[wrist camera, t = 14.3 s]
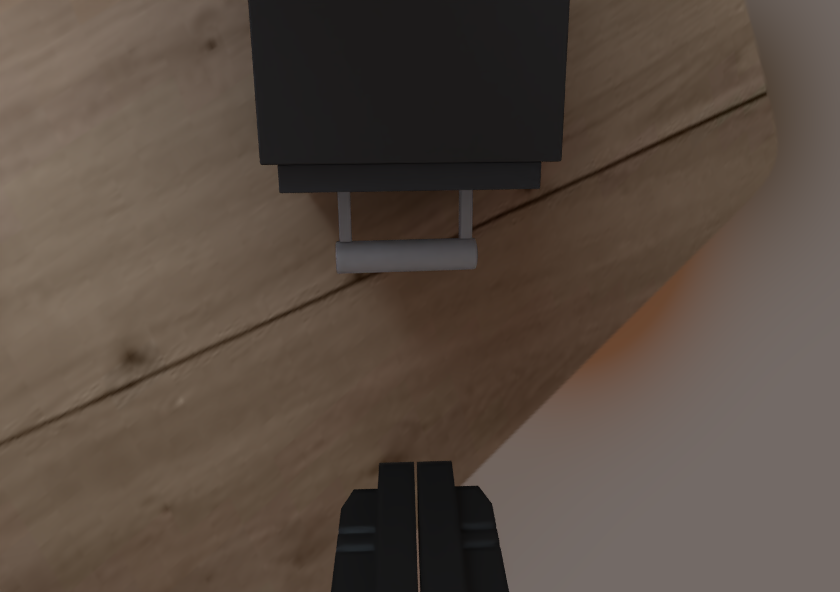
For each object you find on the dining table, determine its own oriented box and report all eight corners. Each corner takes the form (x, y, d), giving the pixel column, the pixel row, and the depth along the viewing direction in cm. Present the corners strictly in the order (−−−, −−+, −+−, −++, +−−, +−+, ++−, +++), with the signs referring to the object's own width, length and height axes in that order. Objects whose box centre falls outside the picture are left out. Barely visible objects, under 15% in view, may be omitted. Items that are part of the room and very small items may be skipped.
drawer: (495, 252, 35) (536, 282, 28) (298, 257, 34) (285, 291, 27) (504, -91, 31) (555, -164, 23) (277, -100, 30) (255, -179, 22)
